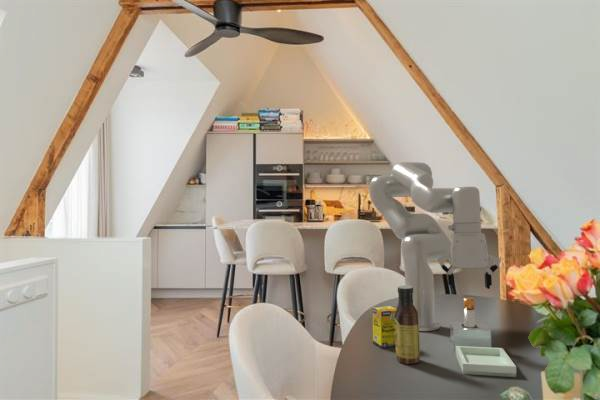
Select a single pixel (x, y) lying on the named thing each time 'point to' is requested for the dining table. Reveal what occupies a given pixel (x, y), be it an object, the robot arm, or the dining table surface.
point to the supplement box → (384, 326)
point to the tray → (485, 361)
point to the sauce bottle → (406, 327)
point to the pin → (469, 312)
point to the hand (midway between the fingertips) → (469, 287)
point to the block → (470, 335)
